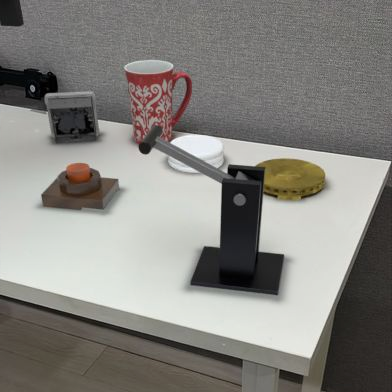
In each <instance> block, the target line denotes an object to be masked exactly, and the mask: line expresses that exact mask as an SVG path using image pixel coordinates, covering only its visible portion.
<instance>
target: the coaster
mask: <svg viewBox="0 0 392 392" xmlns="http://www.w3.org/2000/svg"><path fill="white" fill-rule="evenodd" d="M169 143H171V144H173V145H175V146H177V147H179V148H180V149H182V150H184V151H186V152H188V153H190V154H192V155H194V156H195V157H197V158H199V159H201V160H203V161H205V162H207V163H208V164H210V165H212V166H214V167H216V168H218V169H219V168H221V167H222V166H223V164H224V161H225V158H224V156H225V153H224V150H225V145H224V143H223V142H222V141H221V140H220V139H219V138H217V137H214V136H211V135H204V134H188V135H182V136H178V137H175V138H174V139H172V140H171V142H169ZM167 162H168V164H169V166H170V167H171V168H173V169H175V170H176V171H178V172H183V173H188V174H201V173H200V172H198V171H197V170H195V169H193V168H191V167H189V166H187V165H185V164H183V163H182V162H180V161H178V160H176V159H174V158H172V157H170V156H168V158H167Z"/></svg>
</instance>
